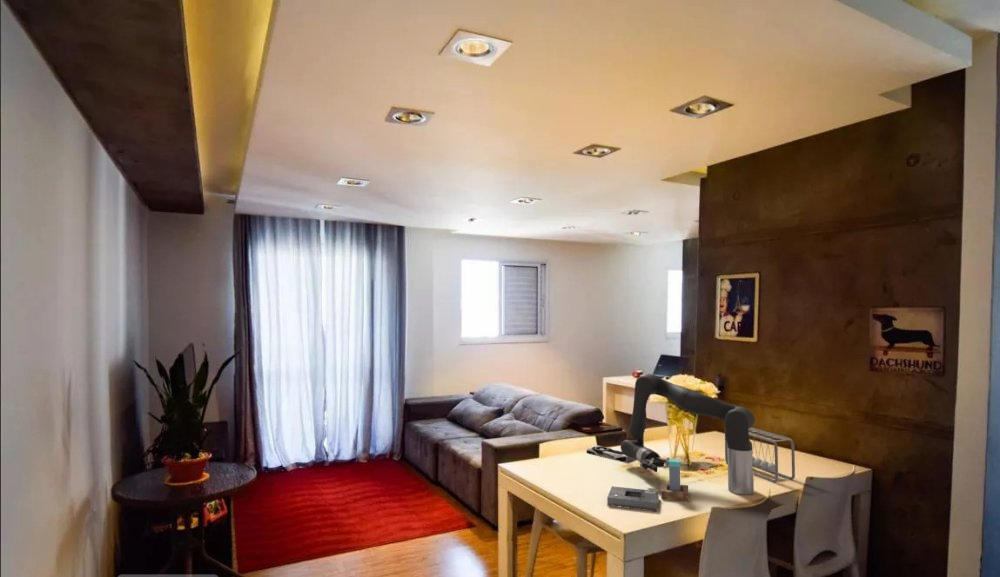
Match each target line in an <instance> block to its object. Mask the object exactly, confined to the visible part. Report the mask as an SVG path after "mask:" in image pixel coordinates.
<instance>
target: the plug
mask: <svg viewBox="0 0 1000 577" xmlns="http://www.w3.org/2000/svg"><path fill="white" fill-rule="evenodd" d="M668 458H669V465H668V466H669V468H668V472H669V473H668V474H669V478H668V479H669V480H668V481H669V488H670V490H673V491H680V485H681V466H682V465H681V458H670V457H668Z"/></svg>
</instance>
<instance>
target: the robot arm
mask: <svg viewBox="0 0 1000 577" xmlns="http://www.w3.org/2000/svg"><path fill="white" fill-rule="evenodd" d="M650 395H651V396H652V395H655V396H656V395H657V396H660V397H663V398H666V399H667V400H670V401H671V402H673V403H674V404H675V405H676V406H677V407H679V408H681V409H683V410H685V411H688V412H690V413H693V414H696V415H700V416H705V417H712V418H717V419H719V420H722V421H724V438H725V437H726V441H727V447H728V464H727V487H728V488H727V489H728V491H729V492H731V493H734V494H737V495H754V494H755V484H754V482H755V479H754V476H755V475H753V472H754V466H753V461H752V456H753V455H752V452H753V443H752V441H751V440H750V436H749V433H750V430H749V428H753V426H754V425H755V422H756V418H755V415H754V414H753V413H752V411H751V410H749V409H748V408H745V407H744V406H739V405H736V404H731V403H727V402H724V401H722V400H718V399H717V398H715V397H712V396H709V395H707V394H704V393H702V392H698V391H697V390H693V389H690V388H688V387H686V386H682V385H678V384H674V383H672V382H669V381H667V380H665V379H663V378H661V377H659V376H657V375H656V374H649V373H648V374H643V375H640V376H639V377H637V378H636V380H635V383H634V397H633V405H632V407H633V408H632V414H631V417H630V418H631V419H630V423H629V428H628V432H627V433H628V435H629V436H631V438H635V440H632V439H624V440H623V441H622V442H621V444H620V451H622V453H623V454H624V455H626V456H628V457H631V458H634V460H636V461H638V462H639V466H640V467H641V468H642V469H644V470H649V471H653V472H654V473H657V472H658V469H660V468H662V469H669V458H670V457H667V458H666V459H665V458H662V457H661V455H660V454H659V453H658V452H656V451H654V450H652V449H651V448H649V447H646V446H645V442H644V440H645V438H644V437H645V436H644V435H645V430H646V426H647V420H648V419H647V418H648V417H647V416H648V415H647V405H648V401H649V397H650Z"/></svg>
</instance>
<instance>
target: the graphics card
mask: <svg viewBox="0 0 1000 577" xmlns="http://www.w3.org/2000/svg"><path fill="white" fill-rule="evenodd" d="M586 453H588V454H590V453H592V454H591V455H594V454H595V455H594V456H598V455H599V456H598V457H602V456H603V457H602V458H606V457H607V458H606V459H610V458H611V459H610V460H615V461H618V460H619V461H620V462H623V463H626V464H629V462H630V461H631V462H632V461H634V460H635V459H634V458H631V457H628V456H626V455H624V454H623V453H622V451H621V449H620V450H619V449H615V448H610V447H606V446H602V445H592V446H590V447H587V449H586ZM628 461H629V462H628Z"/></svg>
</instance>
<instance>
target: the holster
mask: <svg viewBox="0 0 1000 577" xmlns="http://www.w3.org/2000/svg"><path fill="white" fill-rule="evenodd" d="M660 491H661V492H660V494H661V495H660V496H661V497H660V498H661V499H662V500H668V501H679V502H687V503H688V502H689V485H688V484H687V485H686V484H680V491H673V490H670V488H669V483H668V482H662V483H661V490H660Z"/></svg>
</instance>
